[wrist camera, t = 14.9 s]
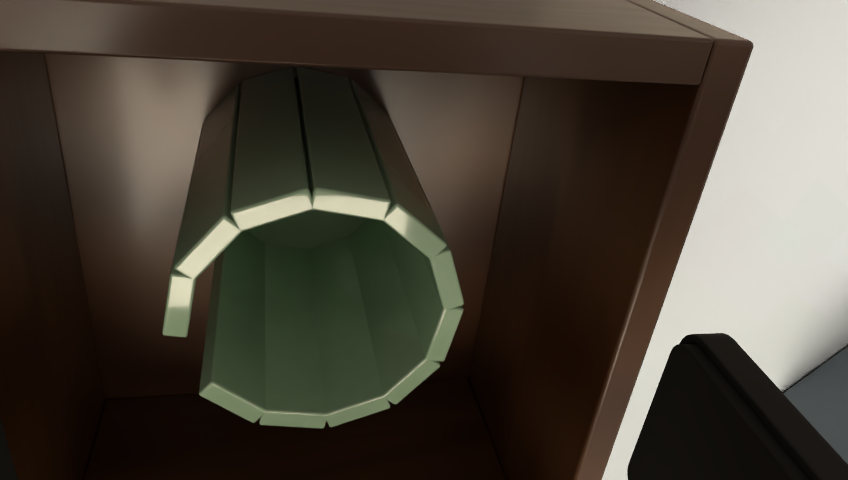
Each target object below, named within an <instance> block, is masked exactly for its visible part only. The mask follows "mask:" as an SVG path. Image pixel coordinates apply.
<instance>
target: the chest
mask: <svg viewBox="0 0 848 480" xmlns="http://www.w3.org/2000/svg"><path fill="white" fill-rule="evenodd" d="M752 49H753V43H752V42H751V41H749V40H747V39H744V38H742V37H740V36H737V35H735V34H732V33H730V32H728V31H725V30H723V29H720V28H718V27H716V26H713V25H711V24H708V23H706V22H704V21H701V20H699V19H696V18H694V17H691V16H689V15H687V14H684V13H682V12H679V11H677V10H675V9H672V8H670V7H667V6H665V5H663V4H660V3H658V2H655V1H653V0H0V418H1V422H2V425H3V429H4V432H5V436H6V439H7V443H8V446H9V450H10V453H11V457H12V460H13V464H14V467H15V470H16V474H17V477H18V480H601V479H602V477H603V474H604V471H605V468H606V465H607V462H608V459H609V457H610V454H611V451H612V448H613V445H614V442H615V440H616V437H617V434H618V431H619V428H620V425H621V422H622V420H623V417H624V414H625V411H626V408H627V405H628V402H629V400H630V397H631V394H632V391H633V388H634V385H635V383H636V380H637V377H638V374H639V371H640V368H641V365H642V363H643V360H644V357H645V354H646V351H647V348H648V345H649V343H650V340H651V337H652V334H653V331H654V328H655V326H656V323H657V320H658V317H659V314H660V311H661V308H662V306H663V303H664V300H665V297H666V294H667V291H668V288H669V286H670V283H671V280H672V277H673V274H674V271H675V269H676V266H677V263H678V260H679V257H680V254H681V251H682V249H683V246H684V243H685V240H686V237H687V234H688V231H689V229H690V226H691V223H692V220H693V217H694V214H695V212H696V209H697V206H698V203H699V200H700V197H701V194H702V192H703V189H704V186H705V183H706V180H707V177H708V174H709V172H710V169H711V166H712V163H713V160H714V157H715V155H716V152H717V149H718V146H719V143H720V140H721V137H722V135H723V132H724V129H725V126H726V123H727V120H728V117H729V115H730V112H731V109H732V106H733V103H734V100H735V98H736V95H737V92H738V89H739V86H740V83H741V80H742V78H743V75H744V72H745V69H746V66H747V63H748V60H749V58H750V55H751V52H752ZM290 66H291V67H293V69H296V67H297V66H300V67H305V68H309V69H313V70H318V71H322V72H326V73H331V74H335V75H340V76H344V77H347V78H348V80H349V82H350V81H351V80H353V81H354V82H355V83H356V84H358V85H359V86H360V87H361V88H362V89H363V90H364V91H365V92H366V93H367V94H368V95H369V96H371V97H372V98H373V99H374V100H375V101H376V102H377V103H378V104H379V105H380V106H381V107H382V108H384V109H385V110H386V111H387V113H388V115H389V117H390V118H391V120H392V122H393V124H394V126H395V129H396V131H397V133H398V135H399V137H400V140H401V142H402V144H403V146H404V148H405V151H406V153H407V155H408V157H409V159H410V161H411V164H412V166H413V168H414V170H415V172H416V175H417V177H418V179H419V181H420V183H421V186H422V188H423V190H424V192H425V194H426V197H427V199H428V201H429V203H430V205H431V208H432V210H433V212H434V214H435V216H436V219H437V221H438V223H439V225H440V227H441V230H442V232H443V234H444V236H445V238H446V240H447V243H448V245H449V247H450V249H451V252H452V256H453V260H454V264H455V268H456V272H457V276H458V280H459V283H460V287H461V291H462V295H463V299H464V304H463V305H462V307H463V313H462V316H461V319H460V321H459V324H458V327H457V329H456V332H455V334H454V337H453V340H452V342H451V345H450V347H449V350H448V353H447V355H446V358H445V360H444V361H439V362H440V367H439V368H438V369H437V370H436V371H435V372H433V373H432V374H431V375H430V376H429V377H428V378H427V379H425V380H424V381H423V382H422V383H421V384H420V385H418V386H417V387H416V388H415V389H414V390H413V391H411V392H410V393H409V394H408V395H407V396H406V397H405V398H403V399H402V400H401V401H400V402H399V403H398V404H396V405H395V404H393V403H391V402H390V401H389V402H390V408H389V409H386V410H383V411H380V412H377V413H374V414H371V415H368V416H365V417H362V418H359V419H355V420H352V421H349V422H346V423H343V424H340V425H337V426H334V427H329V425H328V423H327V421H326V424H325V427H324V428H322V429H321V428H304V427H286V426H268V425H260V423H259V419H258V420H257V421H256V422H254V423H252V422H250V421H248V420H246V419H244V418H242V417H240V416H238V415H236V414H234V413H232V412H230V411H229V410H227V409H225V408H223V407H221V406H219V405H217V404H215V403H213V402H211V401H209V400H207V399H205V398H203V397H201V396H200V395H199V387H200V379H201V370H202V362H203V353H204V344H205V336H206V327H207V319H208V310H209V301H210V293H211V284H212V276H213V267H214V261H213V262H212V263H211V264H210V265H209V266H208V267H207V268H206V269H205V270H204V271H203V272H202V273H201V274H200V275H199V276H198V277H197V278H196V285H195V291H194V298H193V304H192V311H191V317H190V323H189V330H188V335H187V336H186V337H175V336H165V335H163V333H162V330H163V322H164V315H165V307H166V300H167V292H168V285H169V277H170V272H171V267H172V262H173V258H174V253H175V248H176V244H177V239H178V234H179V230H180V225H181V220H182V216H183V211H184V206H185V202H186V197H187V192H188V188H189V183H190V178H191V174H192V169H193V164H194V160H195V155H196V150H197V146H198V141H199V137H200V132H201V127H202V125H204V121H205V119H206V118H207V117H208V115H209V114H210V113H211V112H212V111H213V110H214V109H215V108H216V107H217V106H218V104H219V103H220V102H221V101H222V100H223V99H224V98H225V97H226V96H227V94H228V93H229V92H230V91H231V90H232V89H233V88H234V87H235V86H236V85H237V84H239V85H240V86H241V85H242V81H243V80H247V79H250V78H253V77H257V76H260V75H263V74H267V73H270V72H273V71H277V70H280V69H283V68H287V67H290Z"/></svg>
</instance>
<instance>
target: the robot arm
mask: <svg viewBox="0 0 848 480" xmlns="http://www.w3.org/2000/svg"><path fill="white" fill-rule="evenodd" d="M0 480H18V477H17V474H16V470H15V467H14V464H13V460H12V457H11V453H10V450H9V446H8V443H7V439H6V436H5V432H4V429H3V425H2V422H1V418H0ZM628 480H848V464H847V463H846V462H845V461H844V460H843V459H842V458H841V456H840V455H839V454H838V453H837V452H836V451H835V450H834V449H833V448H832V447H831V445H830V444H829V443H828V442H827V441H826V440H825V439H824V438H823V437H822V436H821V435H820V433H819V432H818V431H817V430H816V429H815V428H814V427H813V426H812V425H811V424H810V422H809V421H808V420H807V419H806V418H805V417H804V416H803V415H802V414H801V413H800V412H799V410H798V409H797V408H796V407H795V406H794V405H793V404H792V403H791V402H790V401H789V399H788V398H787V397H786V396H785V395H784V394H783V393H782V392H781V391H780V390H779V388H778V387H777V386H776V385H775V384H774V383H773V382H772V381H771V380H770V379H769V378H768V376H767V375H766V374H765V373H764V372H763V371H762V370H761V369H760V368H759V367H758V365H757V364H756V363H755V362H754V361H753V360H752V359H751V358H750V357H749V356H748V355H747V353H746V352H745V351H744V350H743V349H742V348H741V347H740V346H739V345H738V344H737V342H736V341H735V340H734V339H733V338H731V337H730V336H729V335H727V334H723V333H716V334H691V335H687V336H685V337H684V338H683V339H682V341H681V342H680V344H679V345H676V346H675V347H673V349H672V351H671V353H670V355H669V358H668V361H667V363H666V366H665V369H664V371H663V374H662V377H661V379H660V382H659V385H658V387H657V390H656V393H655V395H654V398H653V401H652V403H651V406H650V409H649V411H648V414H647V417H646V419H645V422H644V425H643V427H642V430H641V433H640V435H639V438H638V441H637V443H636V446H635V449H634V451H633V454H632V457H631V459H630V462H629V465H628Z"/></svg>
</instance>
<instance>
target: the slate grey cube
mask: <svg viewBox="0 0 848 480" xmlns="http://www.w3.org/2000/svg"><path fill="white" fill-rule="evenodd" d="M783 394H784V395H785V396H786V397H787V398H788V399H789V401H790V402H791V403H792V404H793V405H794V406H795V407H796V408H797V409H798V410H799V412H800V413H801V414H802V415H803V416H804V417H805V418H806V419H807V420H808V421H809V422H810V424H811V425H812V426H813V427H814V428H815V429H816V430H817V431H818V432H819V433H820V435H821V436H822V437H823V438H824V439H825V440H826V441H827V442H828V443H829V444H830V445H831V447H832V448H833V449H834V450H835V451H836V452H837V453H838V454H839V455H840V456H841V458H842V459H843V460H844V461H845V462H846V463H847V464H848V346H847V347H846V348H845V349H843V350H842V351H841V352H839V353H838V354H836V355H835V356H834V357H832V358H831V359H830V360H828V361H827V362H825V363H824V364H823V365H821V366H820V367H819V368H817V369H816V370H814V371H813V372H812V373H810V374H809V375H808V376H806V377H805V378H803V379H802V380H801V381H799V382H798V383H797V384H795V385H794V386H793V387H791V388H790V389H788V390H787V391H786V392H784V393H783Z"/></svg>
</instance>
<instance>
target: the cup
mask: <svg viewBox="0 0 848 480" xmlns="http://www.w3.org/2000/svg"><path fill="white" fill-rule="evenodd" d="M213 261H214V267H213V276H212V284H211V293H210V301H209V310H208V319H207V327H206V336H205V344H204V353H203V362H202V370H201V379H200V387H199V395H200V396H201V397H203V398H205V399H207V400H209V401H211V402H213V403H215V404H217V405H219V406H221V407H223V408H225V409H227V410H229V411H230V412H232V413H234V414H236V415H238V416H240V417H242V418H244V419H246V420H248V421H250V422H252V423H254V422H256V421H257V420H258V419H259V423H260V425H268V426H286V427H304V428H321V429H322V428H324V427H325V424H326V421H327V423H328V425H329V427H334V426H337V425H340V424H343V423H346V422H349V421H352V420H355V419H359V418H362V417H365V416H368V415H371V414H374V413H377V412H380V411H383V410H386V409H389V408H390V402H391V403H393V404H395V405H396V404H398V403H399V402H400V401H401V400H402V399H403V398H405V397H406V396H407V395H408V394H409V393H410V392H411V391H413V390H414V389H415V388H416V387H417V386H418V385H420V384H421V383H422V382H423V381H424V380H425V379H427V378H428V377H429V376H430V375H431V374H432V373H433V372H435V371H436V370H437V369H438V368H439V367H440V362H439V361H444V360H445V358H446V355H447V353H448V350H449V347H450V345H451V342H452V340H453V337H454V334H455V332H456V329H457V327H458V324H459V321H460V319H461V316H462V313H463V307H462V305H463V304H464V299H463V295H462V291H461V287H460V283H459V280H458V276H457V272H456V268H455V264H454V260H453V256H452V252H451V249H450V247H449V245H448V243H447V240H446V238H445V236H444V234H443V232H442V230H441V227H440V225H439V223H438V221H437V219H436V216H435V214H434V212H433V210H432V208H431V205H430V203H429V201H428V199H427V197H426V194H425V192H424V190H423V188H422V186H421V183H420V181H419V179H418V177H417V175H416V172H415V170H414V168H413V166H412V164H411V161H410V159H409V157H408V155H407V153H406V151H405V148H404V146H403V144H402V142H401V140H400V137H399V135H398V133H397V131H396V129H395V126H394V124H393V122H392V120H391V118H390V117H389V115H388V113H387V111H386V110H385V109H384V108H382V107H381V106H380V105H379V104H378V103H377V102H376V101H375V100H374V99H373V98H372V97H371V96H369V95H368V94H367V93H366V92H365V91H364V90H363V89H362V88H361V87H360V86H359V85H358V84H356V83H355V82H354V81H353V80H351V81H350V82H349V80H348V78H347V77H344V76H340V75H335V74H331V73H326V72H322V71H318V70H313V69H309V68H305V67H300V66H297V67H296V69H293V67H291V66H290V67H287V68H283V69H280V70H277V71H273V72H270V73H267V74H263V75H260V76H257V77H253V78H250V79H247V80H243V81H242V85H241V86H240V85H239V84H237V85H236V86H235V87H234V88H233V89H232V90H231V91H230V92H229V93H228V94H227V96H226V97H225V98H224V99H223V100H222V101H221V102H220V103H219V104H218V106H217V107H216V108H215V109H214V110H213V111H212V112H211V113H210V114H209V115H208V117H207V118H206V119H205V121H204V125H202V127H201V132H200V137H199V141H198V146H197V150H196V155H195V160H194V164H193V169H192V174H191V178H190V183H189V188H188V192H187V197H186V202H185V206H184V211H183V216H182V220H181V225H180V230H179V234H178V239H177V244H176V248H175V253H174V258H173V262H172V267H171V272H170V277H169V285H168V292H167V300H166V307H165V315H164V322H163V330H162V333H163V335H165V336H175V337H186V336H187V335H188V330H189V323H190V317H191V311H192V304H193V298H194V291H195V285H196V278H197V277H198V276H199V275H200V274H201V273H202V272H203V271H204V270H205V269H206V268H207V267H208V266H209V265H210V264H211V263H212V262H213ZM389 401H390V402H389Z"/></svg>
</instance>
